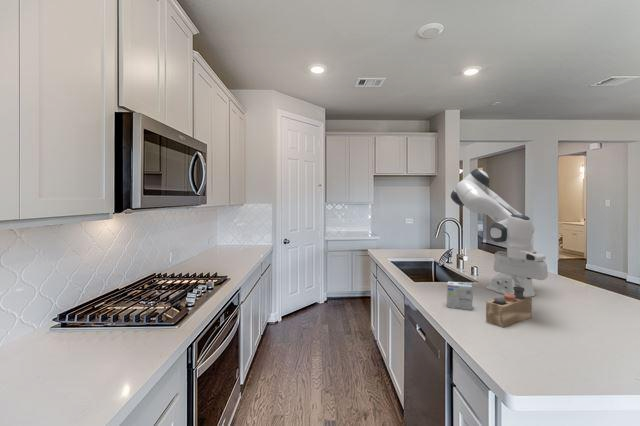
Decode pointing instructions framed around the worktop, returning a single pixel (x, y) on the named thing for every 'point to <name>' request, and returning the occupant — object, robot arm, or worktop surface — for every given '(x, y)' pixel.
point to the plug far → (518, 292)
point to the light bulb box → (459, 295)
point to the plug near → (500, 301)
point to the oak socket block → (508, 311)
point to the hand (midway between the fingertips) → (518, 286)
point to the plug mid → (509, 297)
